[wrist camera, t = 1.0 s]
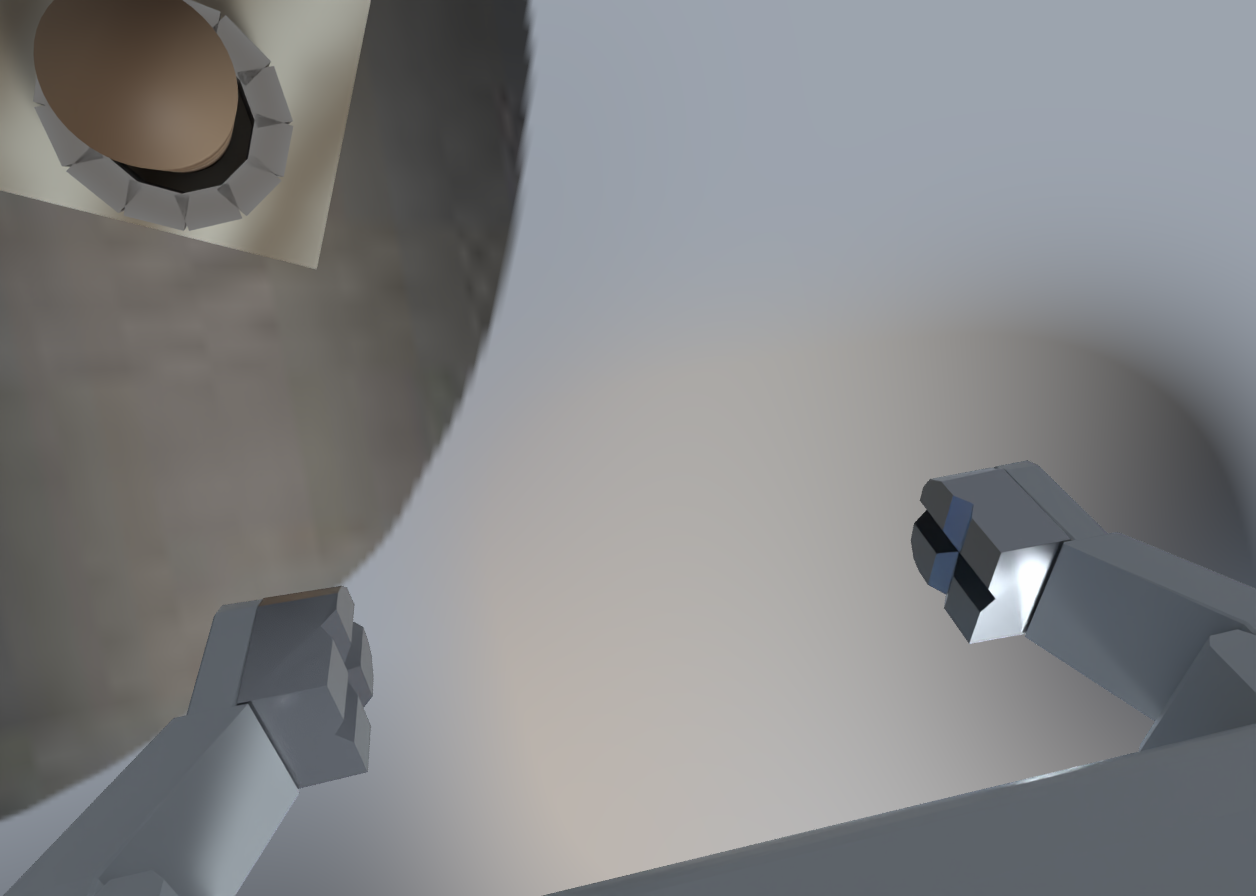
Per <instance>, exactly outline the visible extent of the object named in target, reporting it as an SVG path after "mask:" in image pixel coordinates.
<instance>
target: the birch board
mask: <svg viewBox="0 0 1256 896" xmlns="http://www.w3.org/2000/svg"><path fill="white" fill-rule="evenodd" d="M53 1H54V0H0V190H1V191H5V192H9V193H13V194H17V195H21V196H25V197H29V198H33V199H37V200H41V201H45V202H49V203H53V204H57V205H61V206H65V207H69V208H73V209H77V210H81V211H85V212H89V213H93V214H97V215H101V216H105V217H109V218H113V219H117V220H121V221H125V222H129V223H133V224H137V225H141V226H145V227H149V228H153V229H157V230H161V231H165V232H169V233H173V234H177V235H181V236H185V237H189V238H193V239H197V240H201V241H205V242H209V243H213V244H217V245H221V246H225V247H229V248H233V249H237V250H241V251H245V252H249V253H253V254H257V255H261V256H265V257H269V258H273V259H277V260H281V261H285V262H289V263H293V264H297V265H301V266H305V267H309V268H313V269H317V265H318V260H319V255H320V250H321V245H322V240H323V235H324V230H325V225H326V220H327V215H328V210H329V205H330V200H331V195H332V190H333V185H334V180H335V175H336V170H337V166H338V161H339V156H340V151H341V146H342V141H343V136H344V131H345V126H346V121H347V116H348V111H349V106H350V101H351V96H352V91H353V86H354V81H355V76H356V71H357V66H358V61H359V56H360V51H361V46H362V41H363V36H364V31H365V26H366V21H367V16H368V11H369V6H370V1H371V0H183V1H184V2H186V3H187V4H188V5H190V6H191V7H192V8H194V9H195V10H196V11H197V12H198V13H199V14H200V15H201V16H202V17H203V18H204V19H205V20H206V21H207V22H208V23H209V24H210V25H211V27H212V28H213V29H214V31H215V32H216V33H217V35H218V36H219V37H220V39H221V41H222V42H223V44H224V46H225V48H226V49H227V51H228V54H229V56H230V58H231V61H232V64H233V67H234V70H235V74H236V79H237V85H238V103H237V111H236V116H235V121H234V126H233V131H232V137H231V141H230V144H229V147H228V149H227V151H226V153H225V154H224V156H223V157H222V158H221V159H220V160H219V161H218V162H217V163H216V164H214V165H213V166H211V167H209V168H207V169H205V170H202V171H198V172H192V173H179V172H171V171H163V170H155V169H147V168H140V167H135V166H131V165H127V164H124V163H121V162H118V161H115V160H113V159H111V158H109V157H106V156H104V155H102V154H100V153H99V152H97V151H95V150H94V149H92V148H90V147H89V146H88V145H86V144H85V143H84V142H82V141H81V140H80V139H78V138H77V137H76V136H75V135H74V134H73V133H72V132H71V131H70V130H68V129H67V127H66V126H65V125H64V124H63V123H62V122H61V121H60V119H59V118H58V117H57V116H56V114H55V113H54V111H53V110H52V108H51V107H50V106H49V104H48V102H47V100H46V98H45V96H44V94H43V92H42V90H41V87H40V84H39V82H38V79H37V75H36V71H35V65H34V56H33V52H34V39H35V34H36V29H37V27H38V24H39V22H40V19H41V17H42V16H43V14H44V12H45V11H46V9H47V7H48V6H49V5H50V4H51V3H52V2H53Z"/></svg>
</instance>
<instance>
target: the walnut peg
mask: <svg viewBox="0 0 1256 896" xmlns="http://www.w3.org/2000/svg"><path fill="white" fill-rule="evenodd" d="M33 56H34V65H35V71H36V75H37V79H38V82H39V84H40V87H41V90H42V92H43V94H44V96H45V98H46V100H47V102H48V104H49V106H50V107H51V108H52V110H53V111H54V113H55V114H56V116H57V117H58V118H59V119H60V121H61V122H62V123H63V124H64V125H65V126H66V127H67V129H68V130H70V131H71V132H72V133H73V134H74V135H75V136H76V137H77V138H78V139H80V140H81V141H82V142H84V143H85V144H86V145H88V146H89V147H90V148H92V149H94V150H95V151H97V152H99V153H100V154H102V155H104V156H106V157H109V158H111V159H113V160H115V161H118V162H121V163H124V164H127V165H131V166H135V167H140V168H147V169H155V170H163V171H171V172H179V173H192V172H198V171H202V170H205V169H207V168H209V167H211V166H213V165H214V164H216V163H217V162H218V161H219V160H220V159H221V158H222V157H223V156H224V154H225V153H226V151H227V149H228V147H229V144H230V141H231V137H232V131H233V126H234V121H235V116H236V111H237V103H238V85H237V79H236V74H235V70H234V67H233V64H232V61H231V58H230V56H229V54H228V51H227V49H226V48H225V46H224V44H223V42H222V41H221V39H220V37H219V36H218V35H217V33H216V32H215V31H214V29H213V28H212V27H211V25H210V24H209V23H208V22H207V21H206V20H205V19H204V18H203V17H202V16H201V15H200V14H199V13H198V12H197V11H196V10H195V9H194V8H192V7H191V6H190V5H188V4H187V3H186V2H184V1H183V0H54V1H53V2H52V3H51V4H50V5H49V6H48V7H47V9H46V11H45V12H44V14H43V16H42V17H41V19H40V22H39V24H38V27H37V29H36V34H35V39H34V52H33Z"/></svg>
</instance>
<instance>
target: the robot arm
mask: <svg viewBox="0 0 1256 896" xmlns="http://www.w3.org/2000/svg"><path fill="white" fill-rule="evenodd" d="M920 501H921V503H922V504H923V505H924V506H925V508H926V509H927V510H926V511H925V512H924V513H923V514H922V516H921V517H920V518H919V519H918V520H917V521H916V522H915V523H914V527H913V532H912V538H911V544H912V550H913V557H914V560H915V563H916V565H917V568H918V570H919V572H920V573H921V575H922V576H923V578H924V579H925V581H926V582H927V584H928V585H929V586H931V587H933V588H935V589H937V590H939V591H941V592H942V593H944V594H946V599H945V607H944V609H945V610H946V611H947V613H948V614H949V616H950V617H951V618H952V620H953V621H954V623H955V624H956V626H957V627H958V628H959V630H960V631H961V633H962V634H963V636H964V637H965V638H966V640H967V641H968V643H969V644H971V643H976V642H982V641H988V640H993V639H998V638H1004V637H1009V636H1015V635H1020V634H1025V633H1026V635H1025V637H1026V638H1028V639H1029V640H1031V641H1033V642H1034V643H1035V644H1037V645H1038V646H1040V647H1042V648H1043V649H1045V650H1046V651H1048V652H1049V653H1051V654H1052V655H1054V656H1056V657H1057V658H1058V659H1060V660H1062V661H1063V662H1065V663H1066V664H1068V665H1069V666H1071V667H1072V668H1074V669H1075V670H1077V671H1078V672H1080V673H1082V674H1083V675H1085V676H1086V677H1088V678H1089V679H1091V680H1092V681H1094V682H1095V683H1097V684H1098V685H1100V686H1101V687H1103V688H1104V689H1106V690H1108V691H1109V692H1111V693H1112V694H1114V695H1115V696H1117V697H1118V698H1120V699H1122V700H1123V701H1125V702H1126V703H1127V704H1129V705H1131V706H1132V707H1134V708H1135V709H1137V710H1138V711H1140V712H1141V713H1143V714H1144V715H1146V716H1147V717H1149V718H1150V719H1152V720H1154V721H1155V722H1154V724H1153V726H1152V727H1151V729H1150V730H1149V732H1148V733H1147V735H1146V737H1145V738H1144V740H1143V741H1142V743H1141V744H1140V748H1139V752H1136V753H1131V754H1127V755H1123V756H1119V757H1115V758H1111V759H1107V760H1102V761H1098V762H1094V763H1090V764H1086V765H1082V766H1077V767H1073V768H1069V769H1065V770H1061V771H1057V772H1053V773H1048V774H1044V775H1040V776H1037V777H1032V778H1028V779H1024V780H1020V781H1015V782H1011V783H1007V784H1003V785H999V786H995V787H990V788H986V789H982V790H978V791H974V792H970V793H965V794H961V795H957V796H953V797H949V798H945V799H941V800H937V801H932V802H928V803H924V804H920V805H916V806H912V807H907V808H903V809H899V810H895V811H891V812H887V813H882V814H878V815H874V816H870V817H866V818H862V819H858V820H853V821H849V822H845V823H841V824H837V825H833V826H828V827H824V828H820V829H816V830H812V831H808V832H804V833H799V834H795V835H791V836H787V837H783V838H779V839H775V840H771V841H766V842H763V843H758V844H754V845H750V846H746V847H742V848H738V849H733V850H729V851H725V852H721V853H717V854H713V855H709V856H705V857H700V858H697V859H692V860H688V861H684V862H680V863H676V864H672V865H667V866H663V867H659V868H655V869H651V870H647V871H643V872H639V873H635V874H630V875H626V876H622V877H618V878H614V879H609V880H605V881H601V882H597V883H593V884H589V885H585V886H581V887H576V888H572V889H568V890H564V891H560V892H556V893H552V894H547V895H543V896H1256V589H1255V588H1253V587H1250V586H1248V585H1245V584H1243V583H1241V582H1238V581H1236V580H1233V579H1231V578H1229V577H1226V576H1224V575H1221V574H1219V573H1216V572H1214V571H1211V570H1209V569H1207V568H1204V567H1202V566H1199V565H1197V564H1195V563H1192V562H1190V561H1187V560H1185V559H1182V558H1180V557H1178V556H1175V555H1173V554H1170V553H1168V552H1166V551H1163V550H1161V549H1158V548H1156V547H1153V546H1151V545H1148V544H1146V543H1144V542H1141V541H1139V540H1137V539H1134V538H1131V537H1129V536H1127V535H1124V534H1122V533H1120V532H1115V533H1109V534H1108V533H1107V532H1106V531H1105V530H1104V529H1103V528H1102V527H1101V526H1100V525H1099V524H1098V523H1097V522H1096V521H1095V520H1094V519H1093V518H1091V516H1090V515H1089V514H1087V512H1085V511H1084V510H1083V509H1082V508H1081V507H1080V506H1079V505H1078V504H1077V503H1076V502H1075V501H1074V500H1073V499H1072V498H1071V497H1070V496H1069V495H1068V494H1067V493H1066V492H1065V491H1064V490H1063V489H1062V488H1061V487H1060V486H1059V485H1058V484H1057V483H1056V482H1055V481H1054V480H1053V479H1052V478H1051V477H1050V476H1048V474H1047V473H1046V472H1045V471H1044V470H1043V469H1041V467H1040V466H1038V465H1037V464H1035V463H1033V462H1030V461H1028V460H1027V461H1023V462H1017V463H1012V464H1006V465H1001V466H996V467H994V468H986V469H981V470H975V471H970V472H965V473H960V474H955V475H949V476H944V477H939V478H933V479H930V480H929V481H928V482H927V483H926V484H925V486H924V487H923V491H922V495H921V498H920ZM353 614H354V603H353V600H352V598H351V596H350V594H349V591H348V589H347V587H344V586H338V587H331V588H325V589H319V590H312V591H306V592H300V593H293V594H287V595H280V596H274V597H268V598H263V599H261V600H254V601H248V602H241V603H234V604H228V605H222V607H221V608H220V609H219V610H218V612H217V613H216V614H215V616H214V619H213V622H212V626H211V629H210V633H209V636H208V640H207V644H206V647H205V651H204V654H203V658H202V661H201V665H200V669H199V672H198V676H197V679H196V683H195V686H194V690H193V694H192V697H191V701H190V704H189V708H188V712H187V715H186V716H182V717H177V718H173V719H172V720H171V721H170V723H169V724H168V725H167V726H166V727H165V728H164V729H163V730H162V731H161V732H160V733H159V734H158V735H157V736H156V737H155V738H154V739H153V740H152V741H151V742H150V743H149V744H148V745H147V746H146V747H145V749H144V750H143V751H142V752H141V753H140V754H139V755H138V756H137V757H136V758H135V759H134V760H133V761H132V762H131V763H130V764H129V765H128V766H127V767H126V768H125V770H123V772H121V773H120V775H119V776H118V777H117V778H116V779H115V780H114V781H113V782H112V783H111V784H110V785H109V786H108V787H107V788H106V789H105V790H104V791H103V792H102V793H101V794H100V796H98V797H97V798H96V800H95V801H94V802H93V803H92V804H91V805H90V806H89V807H88V808H87V809H86V810H85V811H84V812H83V813H82V814H81V815H80V816H79V817H78V818H77V819H76V820H75V821H74V822H73V824H71V826H70V827H69V828H68V829H67V830H66V831H65V832H64V833H63V834H62V835H61V836H60V837H59V838H58V839H57V840H56V841H55V842H54V843H53V844H52V845H51V846H50V847H49V849H47V851H46V852H45V853H44V854H43V855H42V856H41V857H40V858H39V859H38V860H37V861H36V862H35V863H34V864H33V865H32V866H31V867H30V868H29V869H28V870H27V871H26V872H25V873H24V874H23V876H21V878H20V879H19V880H18V881H17V882H16V883H15V884H14V885H13V886H12V887H11V888H10V889H9V890H8V891H7V892H6V893H5V894H4V895H3V896H235V895H236V893H237V891H238V890H239V888H240V887H241V885H242V883H243V882H244V880H245V879H246V877H247V876H248V874H249V872H250V871H251V869H252V868H253V866H254V864H255V863H256V861H257V860H258V858H259V856H260V855H261V853H262V851H263V850H264V848H265V847H266V845H267V844H268V842H269V841H270V839H271V837H272V836H273V834H274V832H275V831H276V829H277V828H278V826H279V825H280V823H281V821H282V820H283V818H284V817H285V815H286V814H287V812H288V810H289V809H290V807H291V806H292V804H293V802H294V801H295V799H296V798H297V796H298V794H299V793H300V792H299V790H298V789H299V788H303V787H307V786H311V785H316V784H320V783H324V782H328V781H332V780H337V779H341V778H345V777H349V776H353V775H357V774H361V773H366V772H368V759H369V745H370V730H371V725H370V723H369V720H368V718H367V716H366V713H365V711H364V707H365V705H366V704H367V703H368V701H369V700H370V699H371V697H372V696H373V668H372V655H371V651H370V647H369V642H368V639H367V636H366V633H365V631H364V628H363V627H362V626H360V625H358V624H357V623H355V622H353Z"/></svg>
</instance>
